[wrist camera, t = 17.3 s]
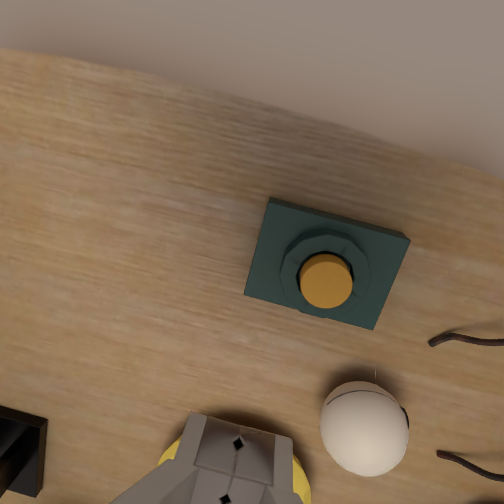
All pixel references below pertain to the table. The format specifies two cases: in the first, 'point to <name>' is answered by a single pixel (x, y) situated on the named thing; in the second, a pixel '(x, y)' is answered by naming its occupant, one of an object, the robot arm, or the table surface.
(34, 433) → the bracket
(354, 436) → the white sphere
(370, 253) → the button box
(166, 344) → the table surface
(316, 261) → the button
